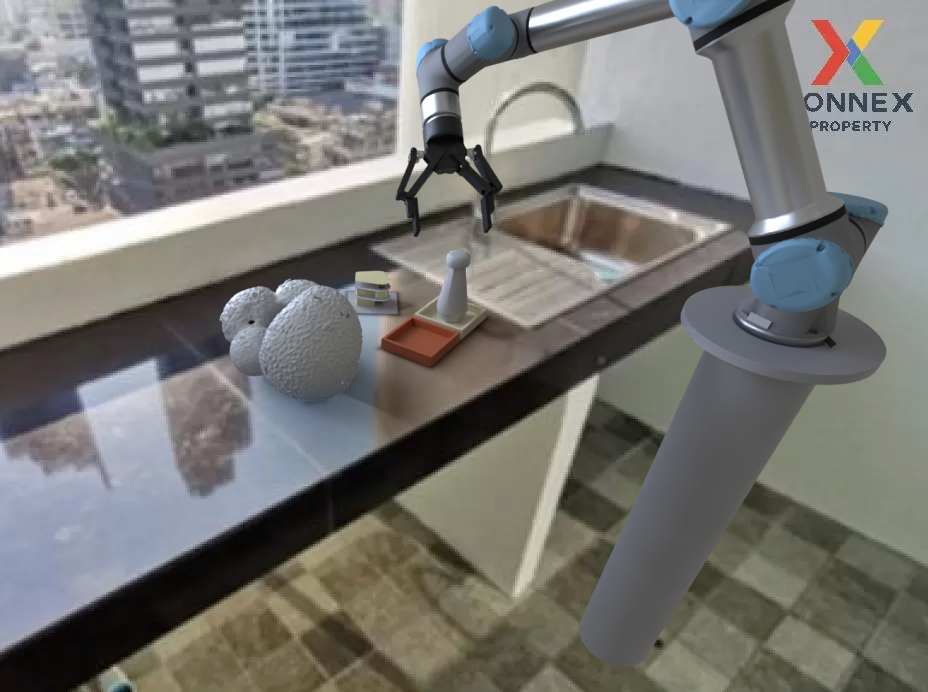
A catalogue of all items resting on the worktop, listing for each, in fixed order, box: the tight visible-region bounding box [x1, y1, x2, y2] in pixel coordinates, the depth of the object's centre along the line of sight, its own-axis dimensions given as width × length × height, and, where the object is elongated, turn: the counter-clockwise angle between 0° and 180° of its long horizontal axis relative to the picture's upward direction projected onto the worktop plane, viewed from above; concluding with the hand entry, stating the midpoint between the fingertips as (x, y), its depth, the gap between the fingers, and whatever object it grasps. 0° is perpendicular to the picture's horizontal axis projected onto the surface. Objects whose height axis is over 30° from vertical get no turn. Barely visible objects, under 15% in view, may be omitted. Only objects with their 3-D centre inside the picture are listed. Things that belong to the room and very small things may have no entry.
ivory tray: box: [413, 294, 489, 341], centre depth 115 cm, size 10×10×2 cm
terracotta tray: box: [380, 315, 460, 368], centre depth 108 cm, size 10×10×2 cm
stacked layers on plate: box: [347, 270, 399, 315], centre depth 120 cm, size 10×9×6 cm
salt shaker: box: [437, 249, 472, 323], centre depth 111 cm, size 6×6×13 cm
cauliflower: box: [219, 278, 363, 402], centre depth 96 cm, size 20×25×22 cm
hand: (452, 232), depth 114 cm, fingers open, 13 cm apart
